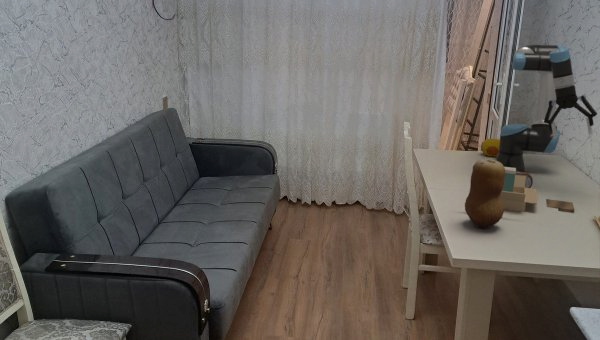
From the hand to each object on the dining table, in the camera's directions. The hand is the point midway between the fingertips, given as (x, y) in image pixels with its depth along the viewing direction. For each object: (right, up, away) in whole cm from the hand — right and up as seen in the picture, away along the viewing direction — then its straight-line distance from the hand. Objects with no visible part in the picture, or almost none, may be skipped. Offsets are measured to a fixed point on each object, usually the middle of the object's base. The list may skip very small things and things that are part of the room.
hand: (572, 135), depth 219 cm
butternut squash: (-48, -35, -27) cm, 66 cm away
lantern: (-7, -7, +73) cm, 73 cm away
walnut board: (-9, -30, -7) cm, 32 cm away
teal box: (-30, -27, -4) cm, 41 cm away
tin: (-19, -23, +15) cm, 34 cm away
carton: (-30, -28, -4) cm, 42 cm away
